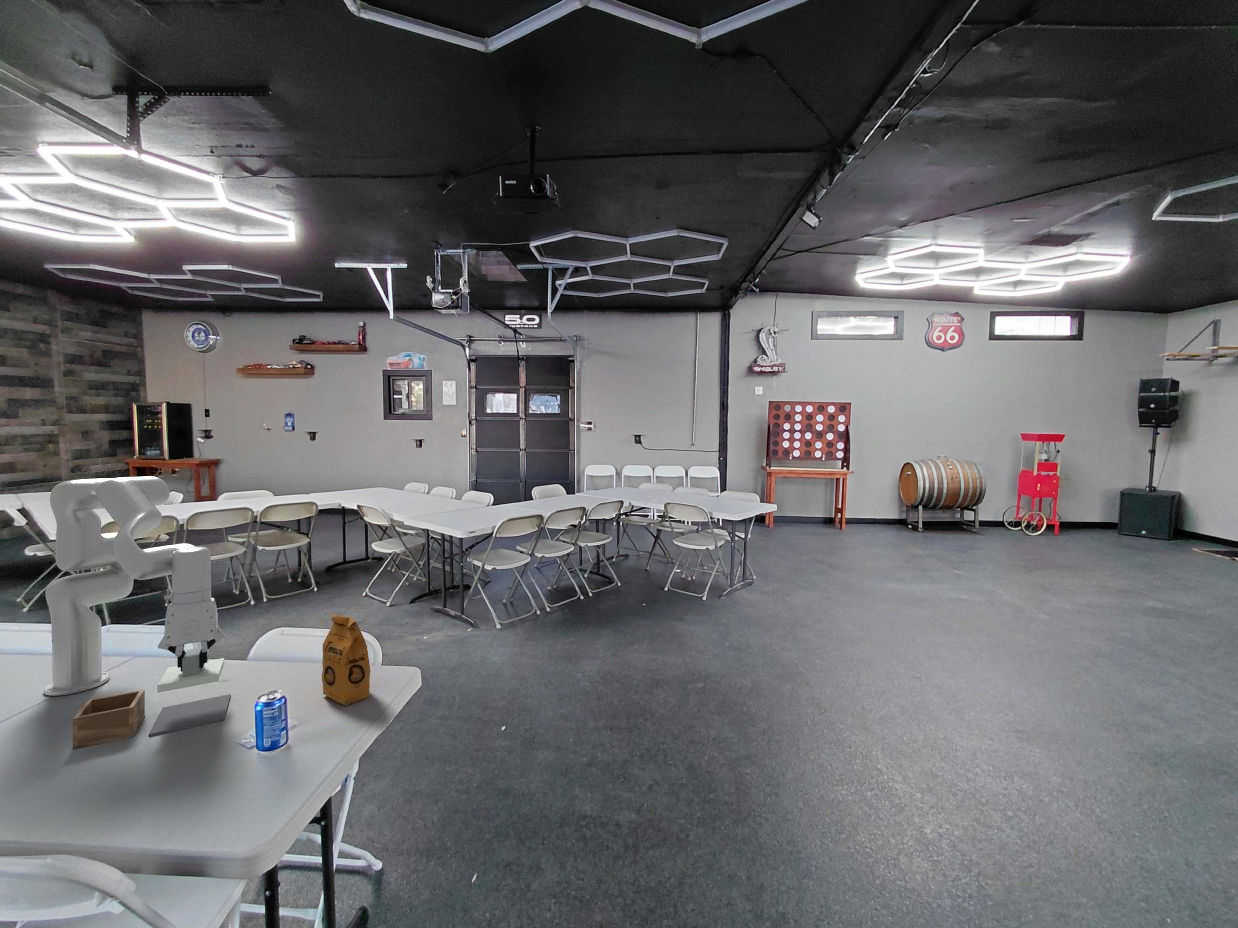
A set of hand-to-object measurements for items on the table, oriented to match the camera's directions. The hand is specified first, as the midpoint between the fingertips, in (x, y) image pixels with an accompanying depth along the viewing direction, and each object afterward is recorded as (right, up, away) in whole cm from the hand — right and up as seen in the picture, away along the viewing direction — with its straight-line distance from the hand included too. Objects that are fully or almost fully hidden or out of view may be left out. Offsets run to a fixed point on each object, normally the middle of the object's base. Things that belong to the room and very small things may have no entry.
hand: (192, 667), depth 126 cm
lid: (0, -3, 0) cm, 3 cm away
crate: (-13, -12, -8) cm, 20 cm away
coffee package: (+33, -13, +11) cm, 37 cm away
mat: (0, -12, 0) cm, 12 cm away
